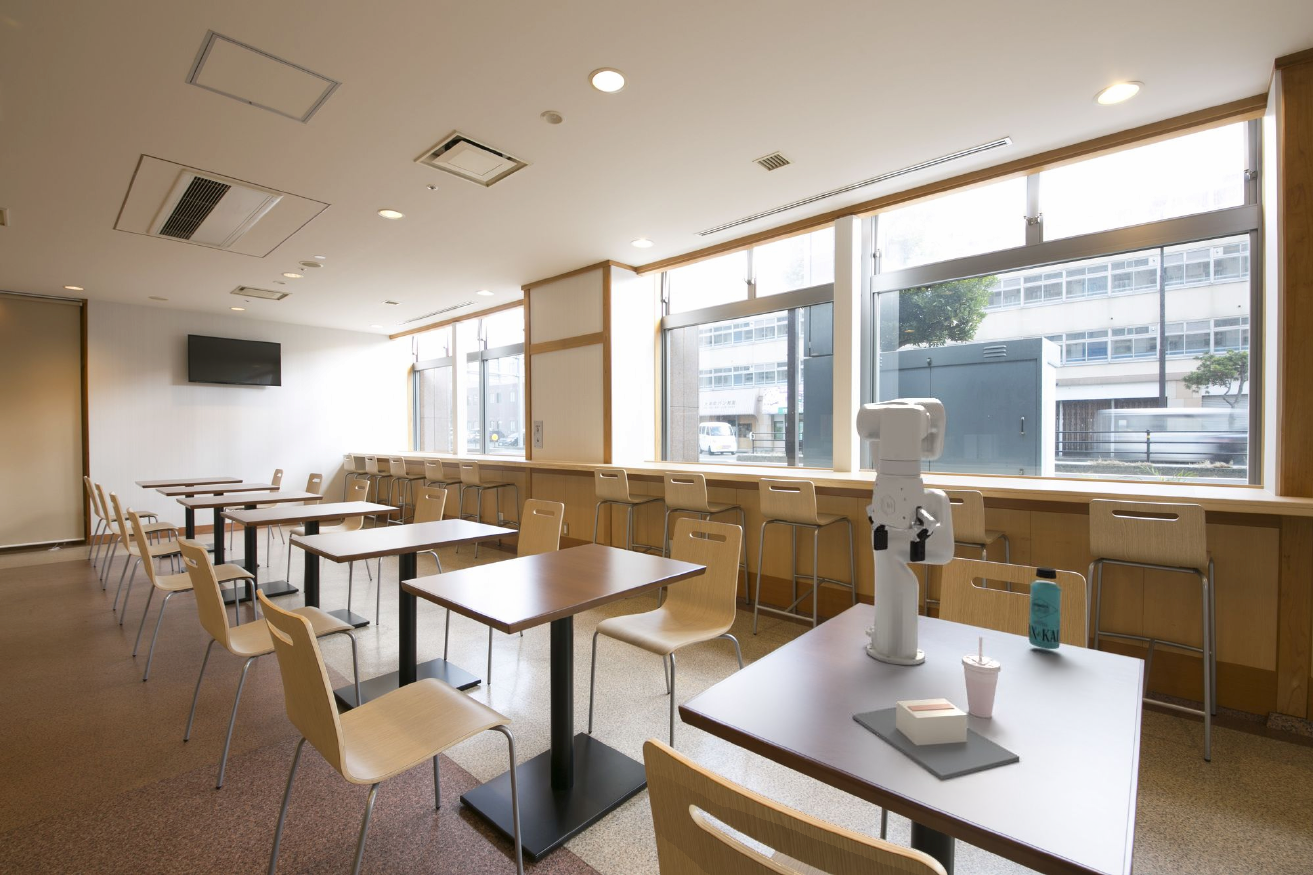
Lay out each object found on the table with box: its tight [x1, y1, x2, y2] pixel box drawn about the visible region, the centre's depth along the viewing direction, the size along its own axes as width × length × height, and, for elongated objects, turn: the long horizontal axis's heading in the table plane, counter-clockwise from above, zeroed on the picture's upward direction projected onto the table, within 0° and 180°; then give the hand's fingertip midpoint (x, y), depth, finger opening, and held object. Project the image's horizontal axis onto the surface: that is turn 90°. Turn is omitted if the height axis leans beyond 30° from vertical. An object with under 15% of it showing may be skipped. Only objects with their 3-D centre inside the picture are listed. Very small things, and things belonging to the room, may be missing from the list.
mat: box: [852, 706, 1020, 780], centre depth 99 cm, size 20×16×1 cm
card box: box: [895, 698, 968, 745], centre depth 99 cm, size 9×6×5 cm, turn 99°
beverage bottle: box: [1027, 566, 1062, 650], centre depth 142 cm, size 6×7×20 cm
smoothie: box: [961, 635, 1002, 719], centre depth 109 cm, size 6×6×14 cm
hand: (898, 555), depth 116 cm, fingers open, 9 cm apart
